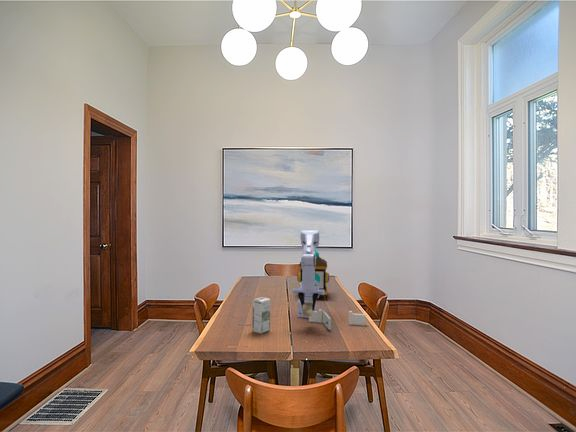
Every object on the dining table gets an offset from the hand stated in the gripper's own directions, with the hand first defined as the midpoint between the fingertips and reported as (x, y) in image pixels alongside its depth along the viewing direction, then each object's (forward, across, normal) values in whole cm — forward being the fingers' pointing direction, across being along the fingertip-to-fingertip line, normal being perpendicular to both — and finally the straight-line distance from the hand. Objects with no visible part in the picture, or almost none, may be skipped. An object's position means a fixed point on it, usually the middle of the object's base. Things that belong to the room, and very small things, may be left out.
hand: (308, 309), depth 155 cm
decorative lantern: (+9, -5, +56) cm, 57 cm away
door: (+8, +7, +3) cm, 12 cm away
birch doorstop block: (+2, 0, 0) cm, 2 cm away
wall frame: (+9, +12, +9) cm, 17 cm away
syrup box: (+9, -20, -8) cm, 23 cm away
